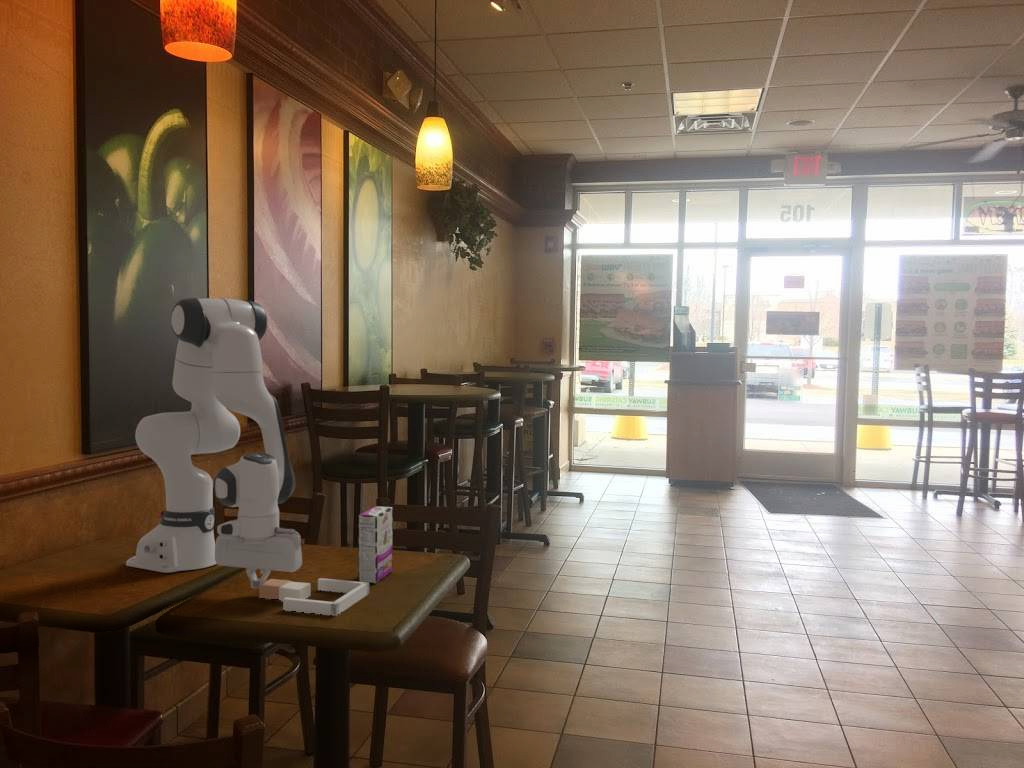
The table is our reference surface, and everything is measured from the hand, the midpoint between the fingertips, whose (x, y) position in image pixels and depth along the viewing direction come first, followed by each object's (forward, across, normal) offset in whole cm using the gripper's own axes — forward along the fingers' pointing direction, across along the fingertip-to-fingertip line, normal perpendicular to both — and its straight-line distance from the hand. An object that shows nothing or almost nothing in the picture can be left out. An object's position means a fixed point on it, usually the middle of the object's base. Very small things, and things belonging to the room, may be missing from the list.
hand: (258, 587), depth 178 cm
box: (+2, -17, 0) cm, 17 cm away
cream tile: (+2, -9, 0) cm, 9 cm away
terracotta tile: (+2, -4, 0) cm, 4 cm away
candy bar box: (+2, -19, -21) cm, 28 cm away
